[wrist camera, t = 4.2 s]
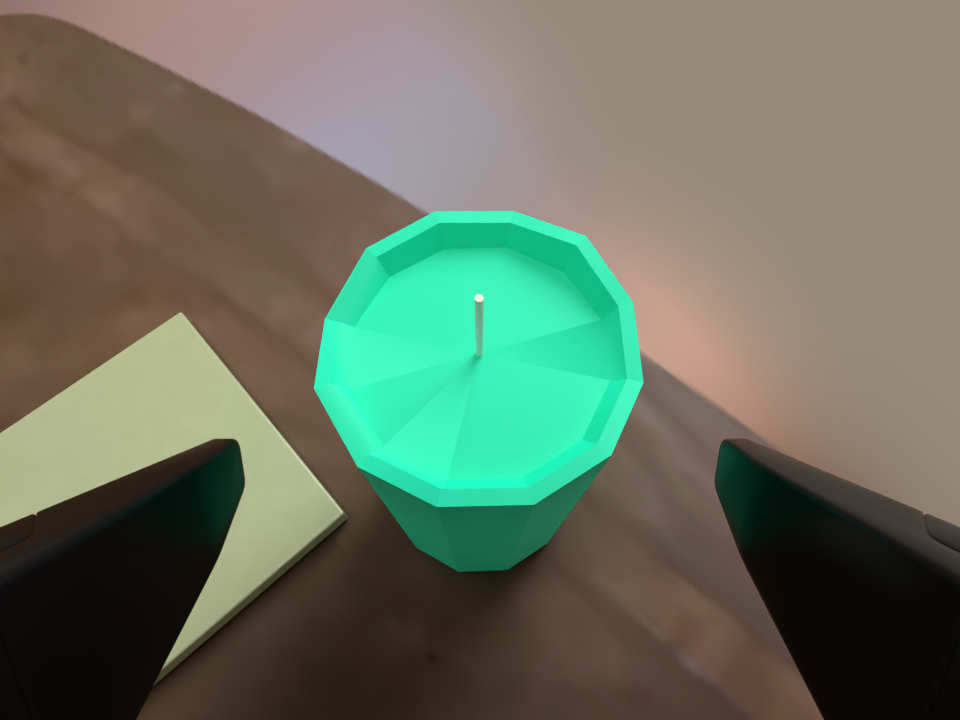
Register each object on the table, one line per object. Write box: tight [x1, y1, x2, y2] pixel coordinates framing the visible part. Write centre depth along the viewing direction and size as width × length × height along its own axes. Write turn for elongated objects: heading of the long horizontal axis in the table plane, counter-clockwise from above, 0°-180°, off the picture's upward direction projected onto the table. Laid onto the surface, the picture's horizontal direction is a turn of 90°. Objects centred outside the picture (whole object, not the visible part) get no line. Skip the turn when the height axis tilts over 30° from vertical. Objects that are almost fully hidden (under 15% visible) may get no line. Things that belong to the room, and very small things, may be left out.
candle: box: [314, 211, 643, 572], centre depth 15 cm, size 6×6×12 cm
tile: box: [0, 313, 348, 686], centre depth 19 cm, size 10×10×1 cm
